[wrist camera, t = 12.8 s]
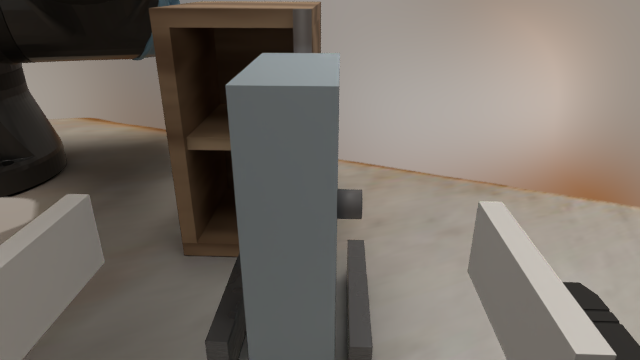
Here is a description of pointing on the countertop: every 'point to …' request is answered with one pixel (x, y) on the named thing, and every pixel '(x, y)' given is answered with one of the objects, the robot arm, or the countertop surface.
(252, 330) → the door
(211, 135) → the cabinet
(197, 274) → the countertop surface
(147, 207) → the countertop surface
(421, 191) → the countertop surface
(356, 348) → the hinge bracket
